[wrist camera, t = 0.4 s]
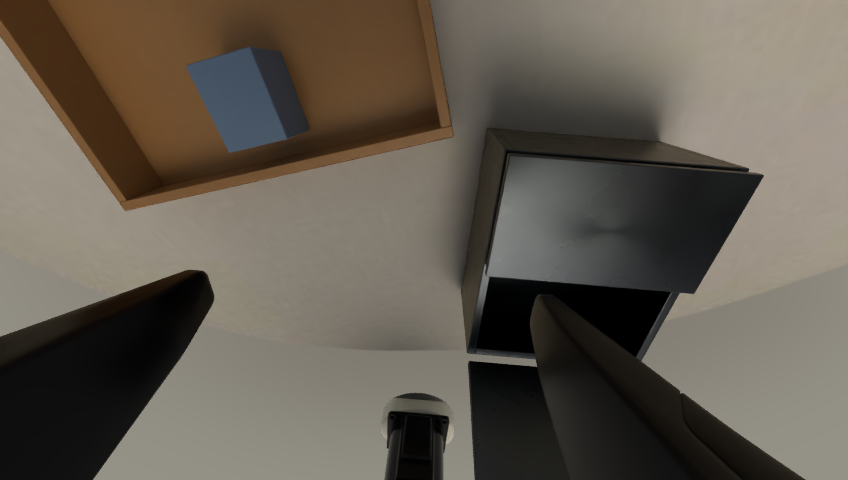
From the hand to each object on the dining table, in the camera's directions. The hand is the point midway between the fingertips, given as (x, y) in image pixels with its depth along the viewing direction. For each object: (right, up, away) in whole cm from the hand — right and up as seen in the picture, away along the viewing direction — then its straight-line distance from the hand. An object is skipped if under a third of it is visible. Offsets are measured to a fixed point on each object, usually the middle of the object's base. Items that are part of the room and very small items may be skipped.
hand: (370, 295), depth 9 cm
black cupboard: (+11, +2, +14) cm, 18 cm away
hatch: (+9, -8, +8) cm, 15 cm away
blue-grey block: (-8, +10, +11) cm, 17 cm away
